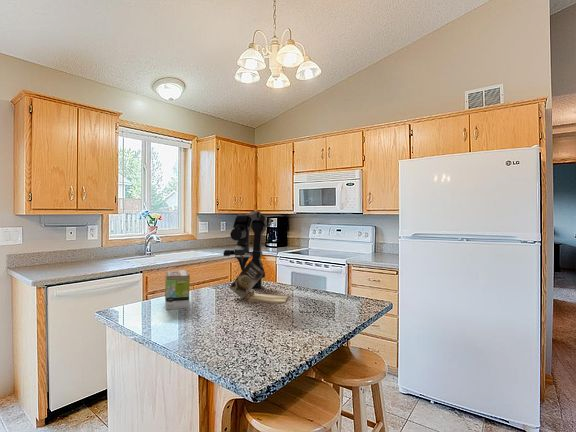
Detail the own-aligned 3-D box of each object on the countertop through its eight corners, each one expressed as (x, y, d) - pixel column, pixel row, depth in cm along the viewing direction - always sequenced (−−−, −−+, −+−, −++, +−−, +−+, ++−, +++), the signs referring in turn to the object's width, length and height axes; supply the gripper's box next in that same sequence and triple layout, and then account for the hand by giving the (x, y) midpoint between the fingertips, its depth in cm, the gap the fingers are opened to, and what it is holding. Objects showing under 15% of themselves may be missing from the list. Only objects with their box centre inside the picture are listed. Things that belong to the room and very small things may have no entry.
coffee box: (228, 287, 163) (248, 262, 161) (232, 284, 169) (251, 260, 167) (242, 299, 162) (262, 274, 160) (246, 296, 168) (265, 271, 166)
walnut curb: (251, 294, 172) (251, 289, 172) (254, 294, 172) (254, 289, 172) (244, 301, 158) (244, 296, 158) (247, 301, 158) (247, 296, 158)
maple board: (253, 295, 171) (253, 293, 171) (288, 296, 168) (288, 295, 168) (247, 301, 158) (247, 300, 158) (284, 303, 155) (284, 301, 155)
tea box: (189, 308, 146) (190, 274, 146) (165, 310, 142) (165, 276, 142) (186, 299, 160) (187, 269, 160) (164, 301, 156) (165, 270, 156)
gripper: (220, 239, 159) (219, 272, 158) (258, 240, 156) (257, 273, 156) (227, 238, 170) (226, 268, 170) (262, 239, 167) (262, 270, 167)
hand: (242, 270), depth 165 cm, fingers closed
